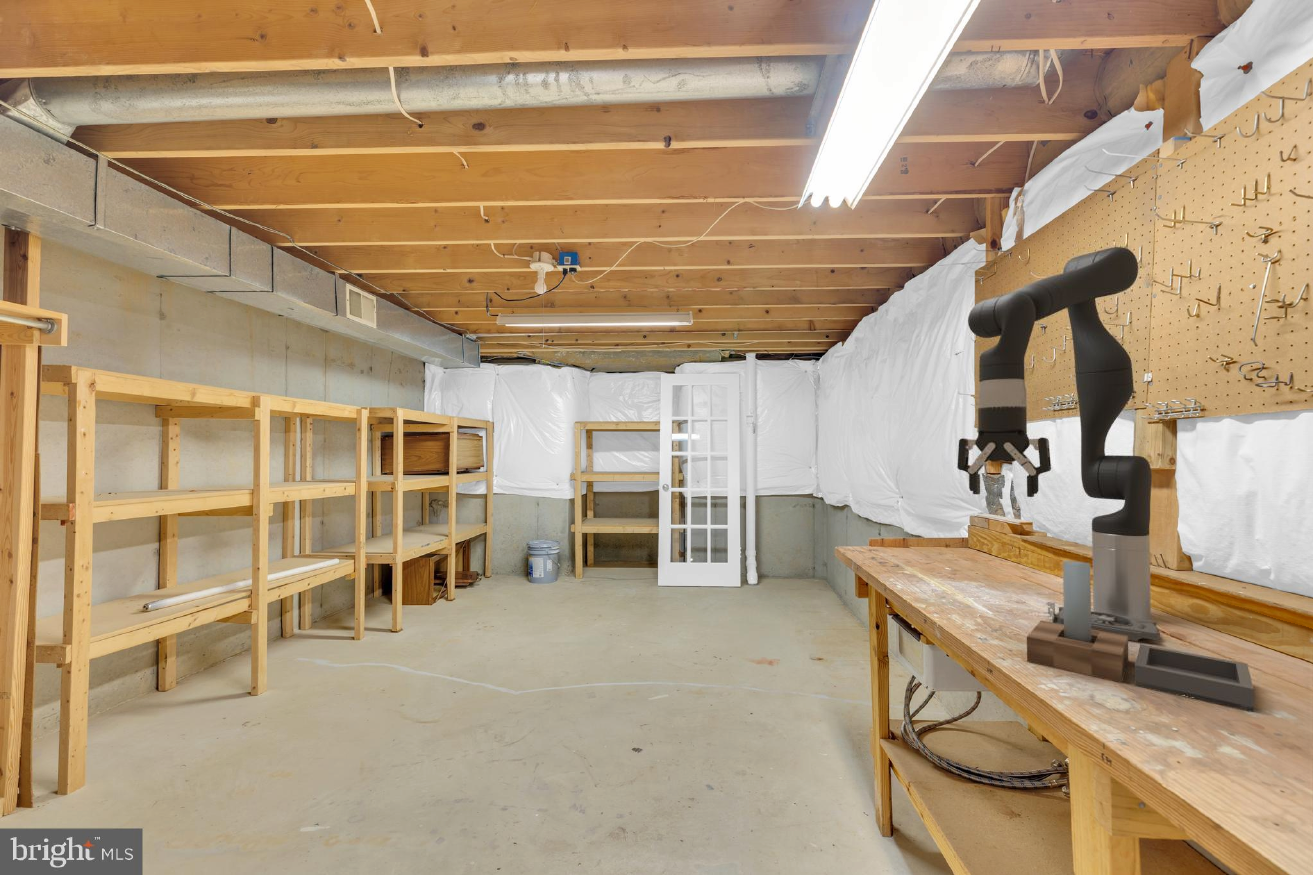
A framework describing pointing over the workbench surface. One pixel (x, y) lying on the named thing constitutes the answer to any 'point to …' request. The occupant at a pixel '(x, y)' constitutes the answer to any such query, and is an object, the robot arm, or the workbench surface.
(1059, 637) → the bore block
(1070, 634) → the dowel
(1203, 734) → the workbench surface
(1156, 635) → the graphics card
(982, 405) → the robot arm
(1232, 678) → the tray
